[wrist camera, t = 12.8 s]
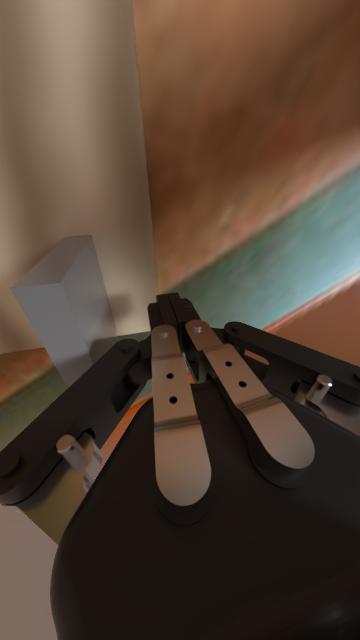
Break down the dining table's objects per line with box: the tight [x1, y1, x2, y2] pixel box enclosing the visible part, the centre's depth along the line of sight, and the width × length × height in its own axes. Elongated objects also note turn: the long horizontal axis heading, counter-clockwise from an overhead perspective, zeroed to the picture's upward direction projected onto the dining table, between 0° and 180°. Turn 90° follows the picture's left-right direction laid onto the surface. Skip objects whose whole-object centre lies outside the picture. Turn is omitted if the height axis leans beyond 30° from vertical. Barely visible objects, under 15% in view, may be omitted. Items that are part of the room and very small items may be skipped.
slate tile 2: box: [10, 235, 116, 388], centre depth 12 cm, size 2×8×8 cm, turn 1°
